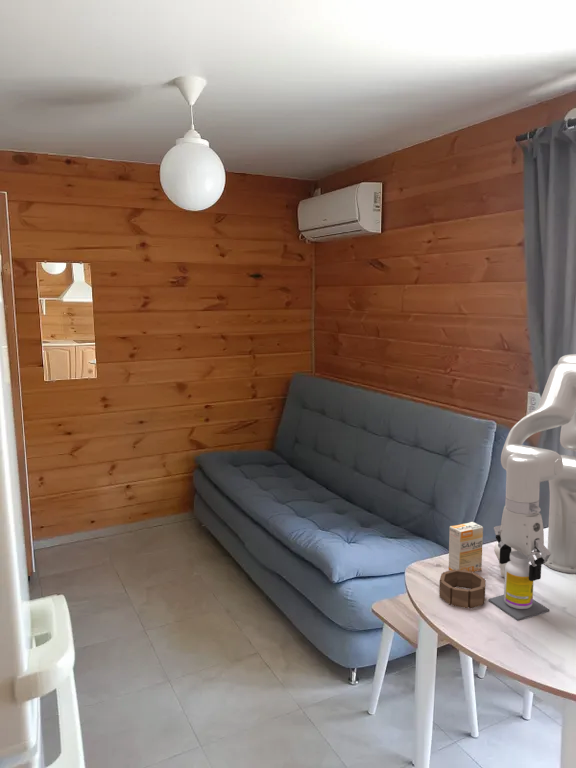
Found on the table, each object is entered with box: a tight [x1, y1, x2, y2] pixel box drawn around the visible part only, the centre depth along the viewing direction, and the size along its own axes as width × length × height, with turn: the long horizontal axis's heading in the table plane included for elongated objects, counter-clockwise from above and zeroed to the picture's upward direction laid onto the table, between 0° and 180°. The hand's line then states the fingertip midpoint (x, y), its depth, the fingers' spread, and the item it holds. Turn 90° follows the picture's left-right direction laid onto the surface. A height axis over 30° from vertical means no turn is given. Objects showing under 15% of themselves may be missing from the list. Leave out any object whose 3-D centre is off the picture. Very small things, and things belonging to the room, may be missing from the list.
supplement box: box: [448, 521, 484, 573], centre depth 162 cm, size 8×5×13 cm, turn 113°
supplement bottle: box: [503, 551, 534, 609], centre depth 143 cm, size 7×7×13 cm
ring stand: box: [438, 569, 487, 609], centre depth 149 cm, size 11×11×4 cm
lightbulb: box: [493, 540, 517, 579], centre depth 157 cm, size 6×6×11 cm
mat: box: [488, 594, 550, 622], centre depth 144 cm, size 10×10×1 cm
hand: (519, 570), depth 142 cm, fingers open, 9 cm apart
